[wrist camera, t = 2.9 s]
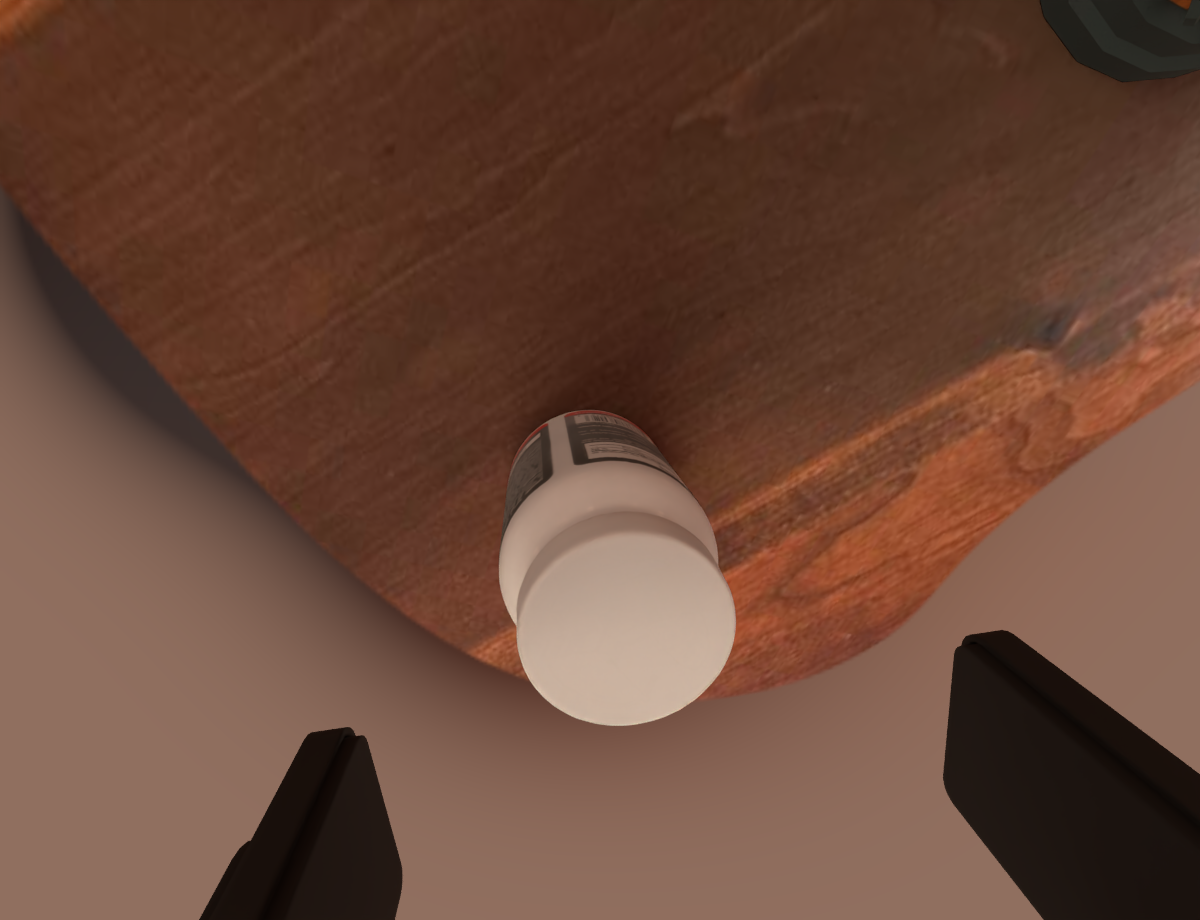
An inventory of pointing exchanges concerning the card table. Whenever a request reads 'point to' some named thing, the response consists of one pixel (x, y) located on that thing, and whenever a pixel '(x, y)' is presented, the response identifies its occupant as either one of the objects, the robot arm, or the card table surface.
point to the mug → (1129, 35)
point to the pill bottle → (611, 573)
